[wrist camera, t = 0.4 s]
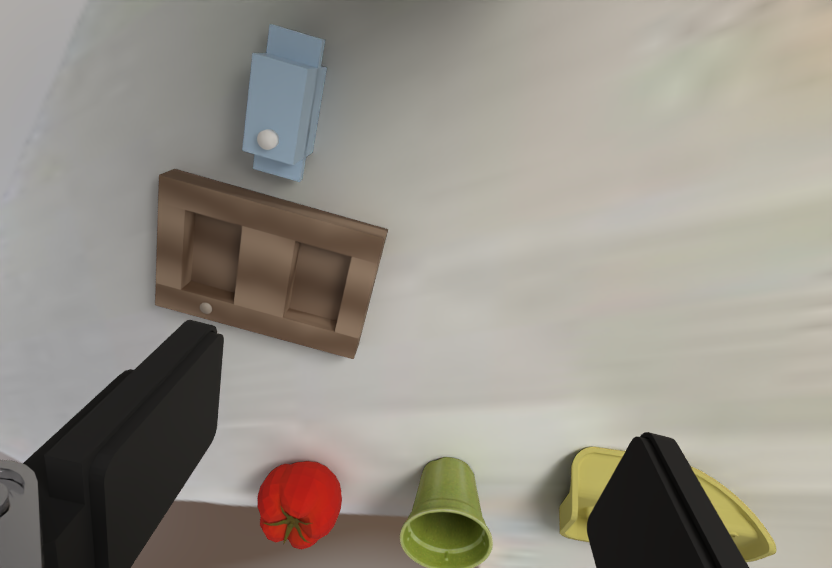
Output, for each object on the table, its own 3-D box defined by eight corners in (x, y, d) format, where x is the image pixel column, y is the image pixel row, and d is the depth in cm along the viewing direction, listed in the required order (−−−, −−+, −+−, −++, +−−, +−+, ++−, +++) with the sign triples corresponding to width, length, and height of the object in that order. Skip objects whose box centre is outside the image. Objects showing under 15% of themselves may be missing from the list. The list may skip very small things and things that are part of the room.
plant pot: (473, 512, 59) (475, 581, 51) (399, 492, 59) (390, 559, 51) (499, 458, 55) (506, 524, 47) (420, 436, 55) (413, 499, 47)
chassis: (174, 168, 44) (158, 175, 41) (388, 229, 44) (383, 238, 42) (169, 293, 49) (154, 305, 47) (358, 345, 50) (353, 359, 48)
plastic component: (555, 536, 56) (574, 514, 49) (554, 472, 61) (572, 443, 53) (736, 567, 54) (787, 549, 46) (721, 498, 59) (765, 471, 51)
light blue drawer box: (282, 26, 38) (251, 20, 32) (331, 40, 38) (309, 38, 32) (265, 161, 43) (235, 178, 37) (309, 174, 43) (285, 192, 37)
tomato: (360, 478, 58) (346, 533, 51) (316, 513, 62) (299, 569, 55) (298, 435, 56) (275, 487, 49) (256, 473, 59) (230, 527, 53)
